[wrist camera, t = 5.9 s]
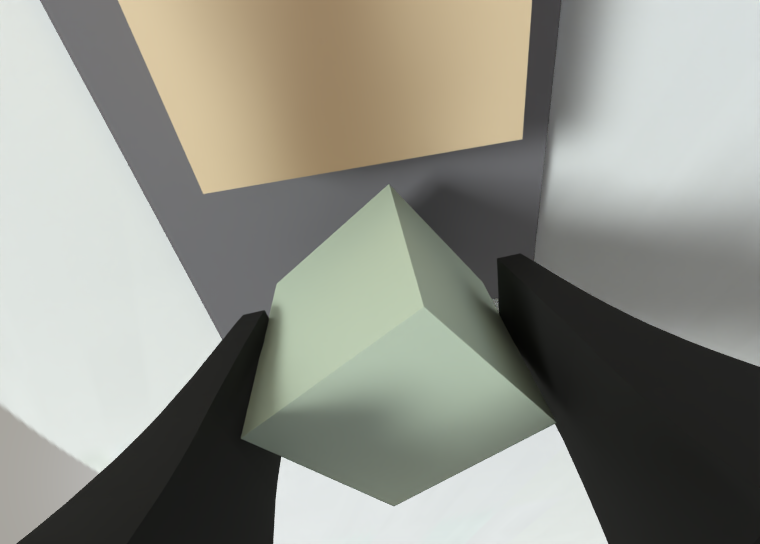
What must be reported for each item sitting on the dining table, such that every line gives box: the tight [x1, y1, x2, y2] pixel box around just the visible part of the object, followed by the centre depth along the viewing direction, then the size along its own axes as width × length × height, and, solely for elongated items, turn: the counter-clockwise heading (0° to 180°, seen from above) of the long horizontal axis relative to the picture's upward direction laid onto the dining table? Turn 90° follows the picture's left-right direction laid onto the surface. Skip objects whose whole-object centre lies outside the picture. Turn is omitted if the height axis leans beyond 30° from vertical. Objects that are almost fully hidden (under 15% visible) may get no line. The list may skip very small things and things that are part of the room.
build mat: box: [40, 0, 561, 340], centre depth 11 cm, size 12×15×1 cm
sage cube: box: [241, 184, 557, 506], centre depth 10 cm, size 4×4×5 cm
